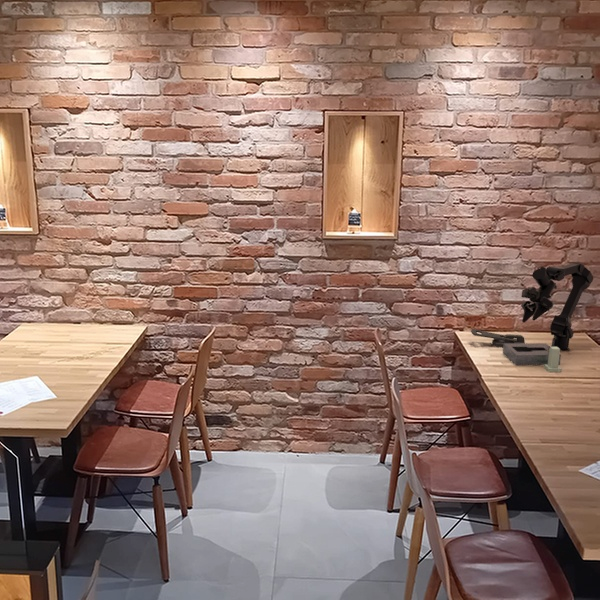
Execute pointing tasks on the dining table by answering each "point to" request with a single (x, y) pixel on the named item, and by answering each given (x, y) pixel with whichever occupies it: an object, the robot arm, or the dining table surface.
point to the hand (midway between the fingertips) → (528, 321)
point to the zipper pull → (500, 338)
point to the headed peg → (553, 360)
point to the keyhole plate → (528, 353)
